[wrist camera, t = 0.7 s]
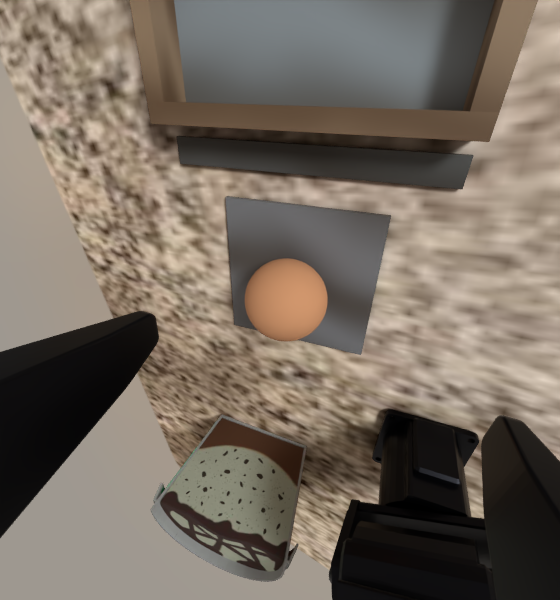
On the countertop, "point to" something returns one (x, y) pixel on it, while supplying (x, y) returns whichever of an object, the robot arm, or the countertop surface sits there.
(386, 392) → the countertop surface
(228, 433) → the food container
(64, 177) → the countertop surface
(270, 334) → the ball
